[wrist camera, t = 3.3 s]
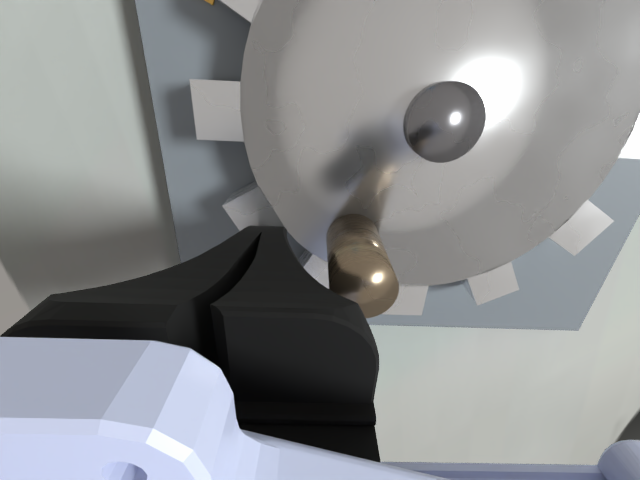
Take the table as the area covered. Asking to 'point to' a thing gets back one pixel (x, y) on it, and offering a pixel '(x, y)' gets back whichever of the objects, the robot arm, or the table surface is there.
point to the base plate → (216, 226)
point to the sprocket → (427, 134)
